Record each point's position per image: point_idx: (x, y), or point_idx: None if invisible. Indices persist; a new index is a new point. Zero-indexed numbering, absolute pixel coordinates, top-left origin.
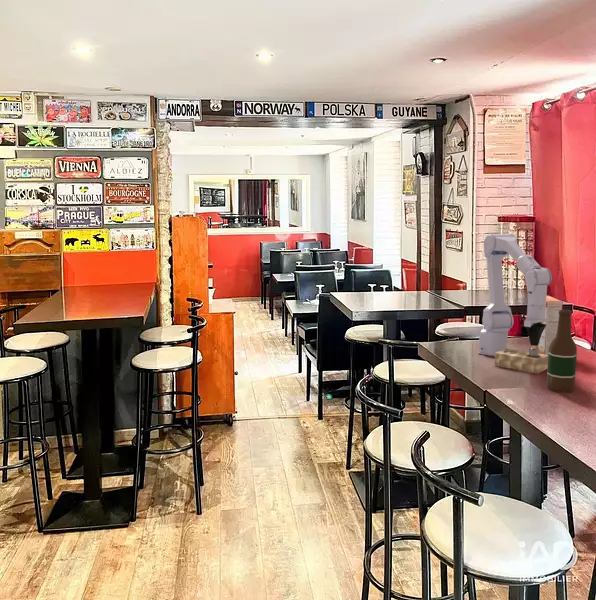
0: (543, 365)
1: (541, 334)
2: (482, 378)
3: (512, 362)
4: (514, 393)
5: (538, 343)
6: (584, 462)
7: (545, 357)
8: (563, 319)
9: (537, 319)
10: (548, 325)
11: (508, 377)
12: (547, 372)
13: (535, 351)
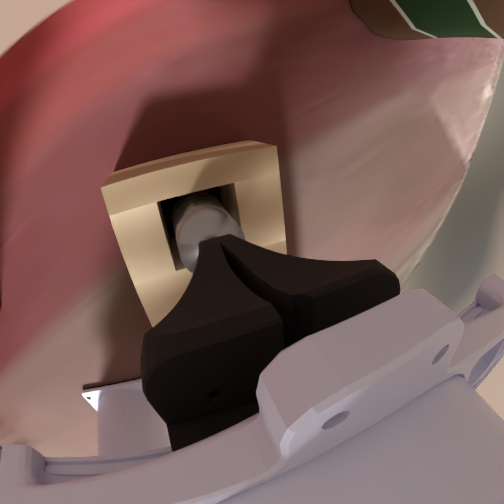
0: (185, 156)
1: (191, 282)
2: (416, 225)
3: None
4: (462, 100)
5: (206, 243)
6: None
7: (164, 168)
8: None
9: (466, 381)
10: None
11: (376, 184)
12: (437, 37)
13: (230, 217)
